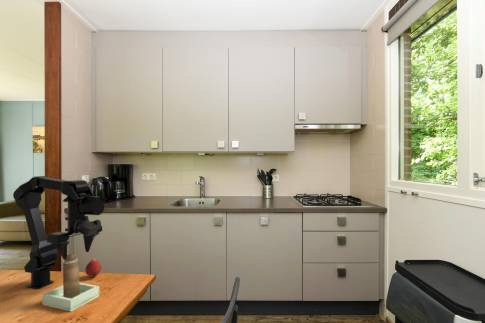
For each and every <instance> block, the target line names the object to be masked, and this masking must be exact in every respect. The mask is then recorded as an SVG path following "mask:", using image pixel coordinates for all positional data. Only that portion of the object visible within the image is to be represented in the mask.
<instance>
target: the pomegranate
mask: <svg viewBox="0 0 485 323" xmlns="http://www.w3.org/2000/svg"><path fill="white" fill-rule="evenodd" d="M101 270H102V264H101V263H100V262H99V261H97V260H96V258H95V257H94V258H92V259H91V260H90V261H89V262H88V263H87V264H86V267H85V274H86V276H88V277H90V278H96V277H97V275H99V274H100V272H101Z"/></svg>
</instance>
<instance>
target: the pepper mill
mask: <svg viewBox="0 0 485 323" xmlns="http://www.w3.org/2000/svg"><path fill="white" fill-rule="evenodd" d="M62 283H63V284H62V286H63V297H66V298H70V299H72V298H74V297H76V296H78V295H80V283H81V282H80V260H79V259H78V257H77V256H76V254H74V253H69V254H67V257H66V260H64V262H63V263H62Z"/></svg>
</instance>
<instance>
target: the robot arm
mask: <svg viewBox="0 0 485 323" xmlns="http://www.w3.org/2000/svg"><path fill="white" fill-rule="evenodd" d="M46 189H48V190H55V191H58V192H60V193H61V195H64V196H66V197H65V198H64V199H63V200H62V201H63V202H64V203H67V216H65V217H64V220H65V221H67V227H65V228H64V231H65V232H64V231H56V232H52V233H49V234H48V235H47V233H46V229H45V225H44V221H43V217H42V213H41V210H40V204H41V201H42V200H43V199H42V194H44V193H45V192H46ZM12 197H13V199H14V202H15V204H16V206H17V207H18V208H20V210H22V211H23V214H24V218H25V221H26V225H27V228H28V233H29V237H30V241H31V243H32V244H31V245H32V247H31V250H30V252H29V260H28V262H26V263H25V265H24V266H23V269H24V272H25V273H29V274H30V283H29V284H27V285H26V288H31V289H36V290H38V289H41V288H44V287H45V286H48V285H51V284H53V283H55V281H54V280H51V268H52V267H55V266H56V262H57V259H58V256H59V255H58V253H59V254H60V256H61V258H62V259H63V260H64V261H65V260H66V257H67V256H68V246H69V244H70V241H69V240H70V238H71V237H75V236H80V235H82V237H83V243H84V244H83V245H84V250H85V252H86V253H89V252H90V249H91V247H92V244H93V242H94V239H95V238H96V236H98V235H100V232H103V226H102V222H101V220H100V219H94V220H92V221H91V220H90V219H89V216H100V215H102V214H103V212H104V210H105V204H104V201H103V200H102V199H101V196H100V195H99V196H98V195H97V196H95V193H94V192H93V190H92V189H91V188H90V186H89V184H88V182H87V181H86V180H84V179H77V180H65V179H59V178H54V177H48V176H46V175H40V176H38V175H37V176H32V177H31V178H30V179H29V180H27V181H26V182H24V183H23V184H20V185H19V186H18V187H17V188H16V189H15V190H14V192H13V194H12Z"/></svg>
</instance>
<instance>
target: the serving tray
mask: <svg viewBox="0 0 485 323" xmlns="http://www.w3.org/2000/svg"><path fill="white" fill-rule="evenodd" d="M98 297H100V286H99V285H94V284H90V283H84V282H80V295H78V296H76V297H74V298H72V299H70V298H66V297H63V285H60V286H58V287H56V288H54V289H51V290H48V291H47V292H44V293H42V306H47V307H51V308H53V309H54V308H55V309H58V310H62V311H67V312H73V311H74V310H76V309H78V308H80V307H82V306H83V305H85V304H87V303H89V302H91V301H92V300H95V299H97V298H98Z"/></svg>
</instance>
